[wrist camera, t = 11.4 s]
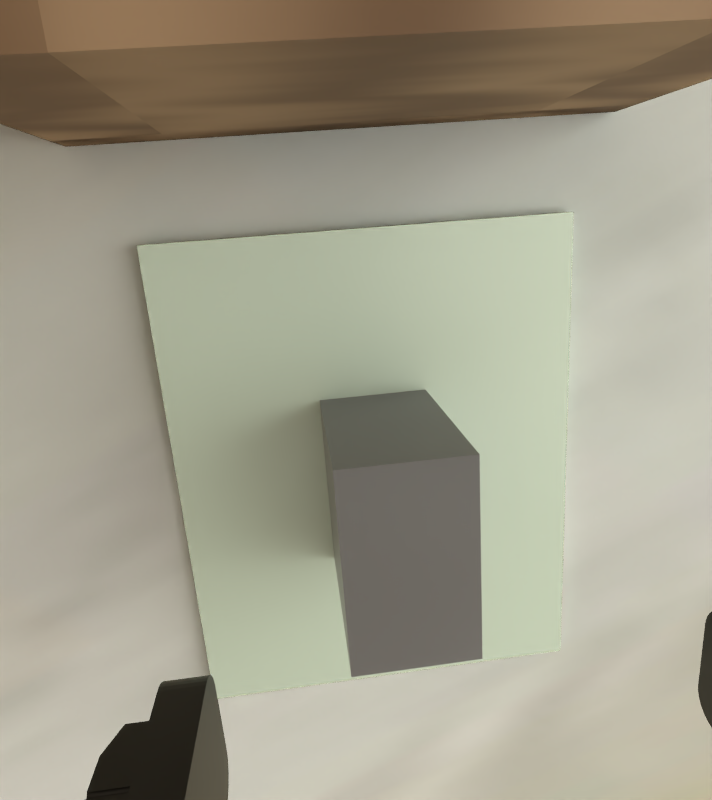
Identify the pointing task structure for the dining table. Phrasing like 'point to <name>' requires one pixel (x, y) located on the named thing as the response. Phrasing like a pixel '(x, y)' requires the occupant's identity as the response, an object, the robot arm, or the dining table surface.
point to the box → (333, 63)
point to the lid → (368, 443)
